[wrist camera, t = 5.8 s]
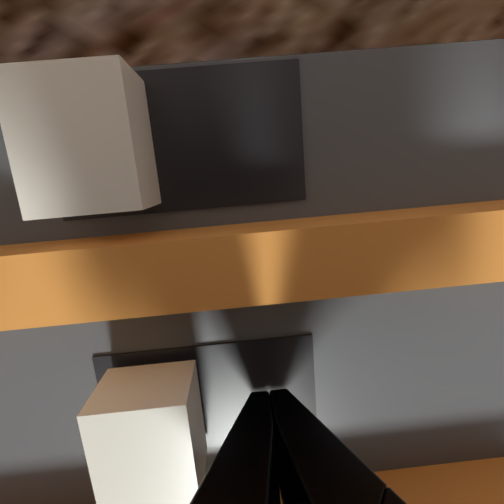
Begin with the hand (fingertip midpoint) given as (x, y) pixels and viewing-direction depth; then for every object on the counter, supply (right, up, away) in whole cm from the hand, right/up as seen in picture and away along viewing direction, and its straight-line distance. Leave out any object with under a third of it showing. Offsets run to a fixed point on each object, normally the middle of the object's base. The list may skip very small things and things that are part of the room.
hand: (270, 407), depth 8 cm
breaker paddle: (-3, 0, 0) cm, 3 cm away
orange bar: (-2, +3, 0) cm, 4 cm away
